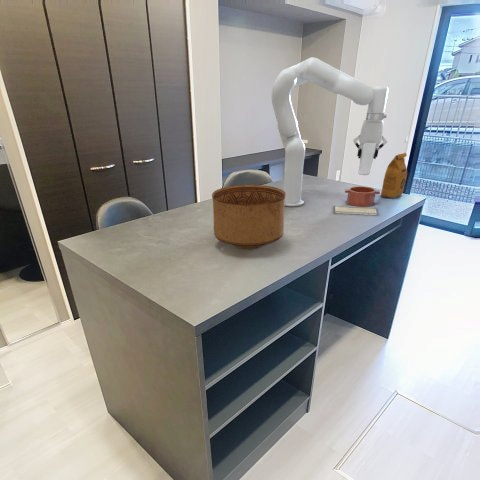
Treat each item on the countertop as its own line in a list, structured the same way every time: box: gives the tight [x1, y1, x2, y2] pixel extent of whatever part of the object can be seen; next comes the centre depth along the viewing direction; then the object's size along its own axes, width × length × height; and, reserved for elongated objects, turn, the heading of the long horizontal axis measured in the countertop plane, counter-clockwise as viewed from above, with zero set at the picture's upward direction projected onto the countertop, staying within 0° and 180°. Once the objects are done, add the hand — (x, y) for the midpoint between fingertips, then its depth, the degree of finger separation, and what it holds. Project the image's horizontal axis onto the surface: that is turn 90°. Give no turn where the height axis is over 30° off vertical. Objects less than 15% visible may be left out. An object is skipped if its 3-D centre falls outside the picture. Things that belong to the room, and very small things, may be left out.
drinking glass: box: [358, 142, 376, 176], centre depth 176 cm, size 7×7×15 cm
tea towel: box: [334, 205, 378, 216], centre depth 178 cm, size 20×12×1 cm, turn 77°
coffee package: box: [380, 152, 408, 199], centre depth 193 cm, size 10×12×22 cm
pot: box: [211, 184, 286, 250], centre depth 138 cm, size 28×28×20 cm
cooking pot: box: [344, 185, 381, 207], centre depth 187 cm, size 18×14×7 cm
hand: (366, 158), depth 176 cm, fingers closed on drinking glass, 6 cm apart
